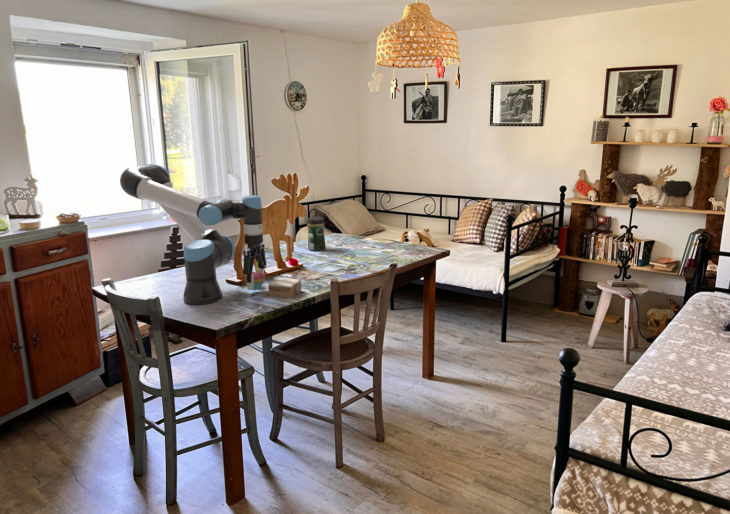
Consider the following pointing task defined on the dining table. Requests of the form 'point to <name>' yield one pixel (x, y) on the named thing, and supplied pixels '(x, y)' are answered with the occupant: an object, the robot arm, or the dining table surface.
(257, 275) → the cupcake
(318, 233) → the coffee jar
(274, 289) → the pedestal
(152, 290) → the dining table surface
